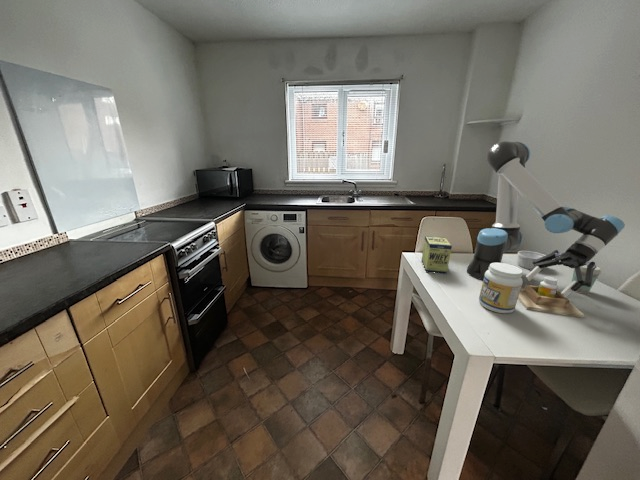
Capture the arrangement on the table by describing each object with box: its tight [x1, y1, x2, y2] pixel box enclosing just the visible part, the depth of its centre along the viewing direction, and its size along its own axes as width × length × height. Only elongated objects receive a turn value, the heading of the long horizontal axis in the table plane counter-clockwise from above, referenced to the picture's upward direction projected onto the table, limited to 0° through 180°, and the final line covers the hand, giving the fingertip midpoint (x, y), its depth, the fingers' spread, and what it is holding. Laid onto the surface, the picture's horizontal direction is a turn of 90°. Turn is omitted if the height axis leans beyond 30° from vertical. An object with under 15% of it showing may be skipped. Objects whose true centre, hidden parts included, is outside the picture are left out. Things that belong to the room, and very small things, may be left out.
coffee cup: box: [570, 265, 602, 295], centre depth 112 cm, size 8×8×12 cm
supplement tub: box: [478, 262, 524, 314], centre depth 99 cm, size 12×12×17 cm
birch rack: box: [517, 284, 585, 318], centre depth 103 cm, size 18×16×5 cm
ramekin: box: [516, 250, 547, 271], centre depth 138 cm, size 13×13×7 cm
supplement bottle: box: [537, 275, 559, 297], centre depth 102 cm, size 5×5×10 cm
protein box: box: [421, 235, 453, 275], centre depth 134 cm, size 10×16×16 cm
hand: (544, 286), depth 101 cm, fingers open, 13 cm apart
